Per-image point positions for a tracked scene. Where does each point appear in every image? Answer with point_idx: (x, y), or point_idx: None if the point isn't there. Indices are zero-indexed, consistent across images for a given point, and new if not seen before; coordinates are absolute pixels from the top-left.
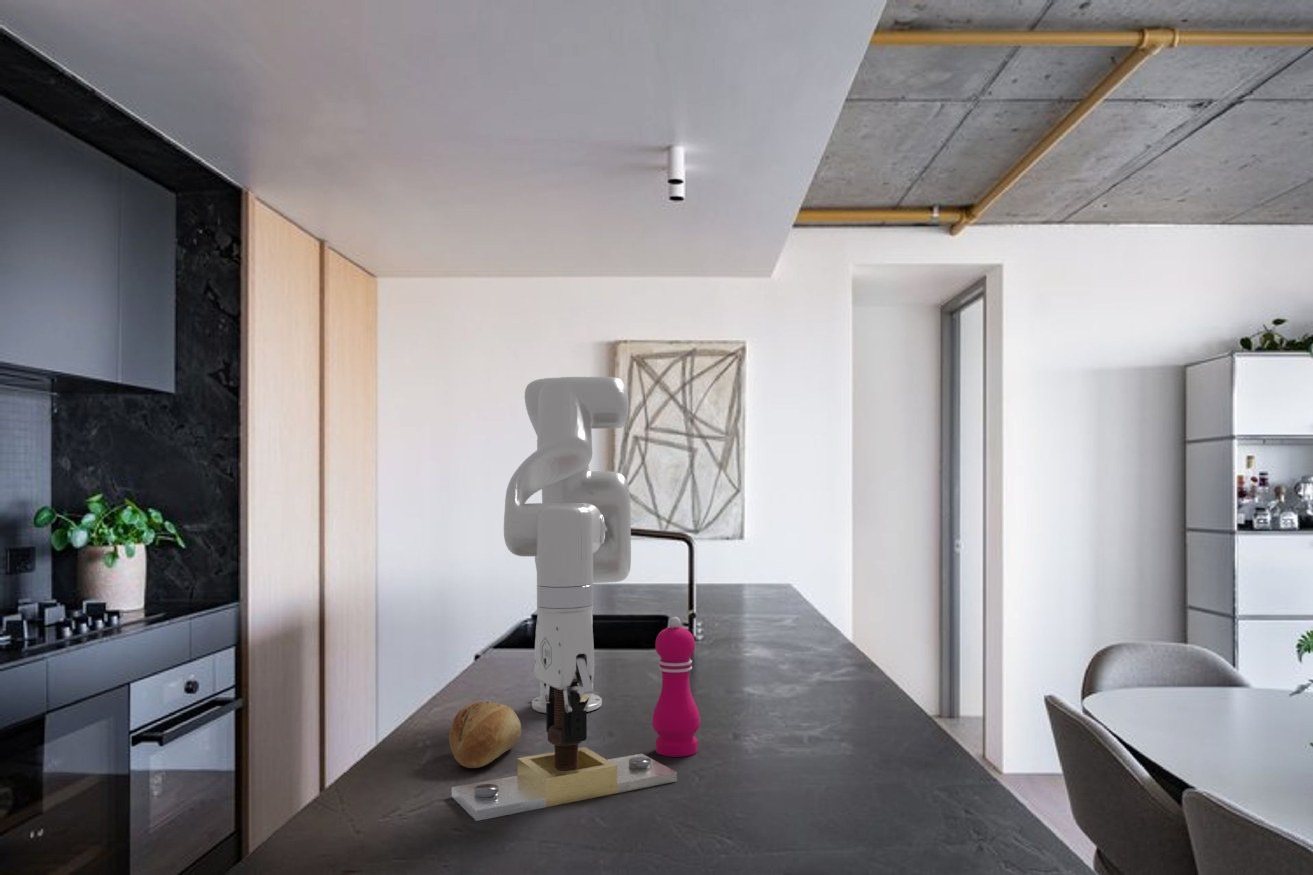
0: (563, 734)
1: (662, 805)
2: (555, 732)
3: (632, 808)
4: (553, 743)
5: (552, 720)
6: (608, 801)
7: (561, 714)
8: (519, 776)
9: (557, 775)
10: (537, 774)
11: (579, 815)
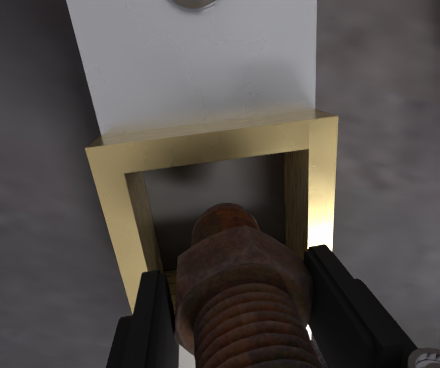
0: (144, 290)
1: (47, 340)
2: (205, 268)
3: (45, 293)
4: (213, 236)
5: (325, 294)
6: (103, 263)
7: (210, 360)
8: (298, 110)
9: (106, 188)
10: (157, 137)
11: (27, 188)
